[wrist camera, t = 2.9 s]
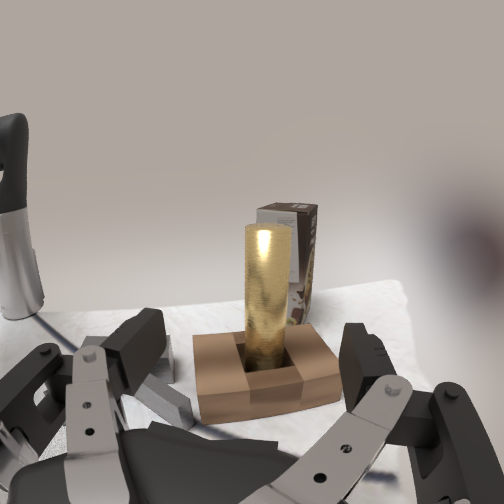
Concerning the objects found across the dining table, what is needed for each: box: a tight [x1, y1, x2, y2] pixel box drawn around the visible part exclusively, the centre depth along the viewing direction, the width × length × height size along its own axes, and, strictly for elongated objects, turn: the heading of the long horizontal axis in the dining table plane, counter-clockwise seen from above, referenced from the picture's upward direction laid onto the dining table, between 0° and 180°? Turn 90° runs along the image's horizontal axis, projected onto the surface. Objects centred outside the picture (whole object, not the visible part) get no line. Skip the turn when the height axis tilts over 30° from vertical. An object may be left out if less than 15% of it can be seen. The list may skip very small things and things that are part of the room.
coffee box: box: [257, 203, 318, 326], centre depth 37 cm, size 9×6×16 cm
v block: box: [44, 335, 195, 431], centre depth 23 cm, size 11×14×4 cm
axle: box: [245, 223, 292, 373], centre depth 24 cm, size 4×4×16 cm
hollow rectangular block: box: [193, 323, 343, 425], centre depth 26 cm, size 9×13×4 cm
